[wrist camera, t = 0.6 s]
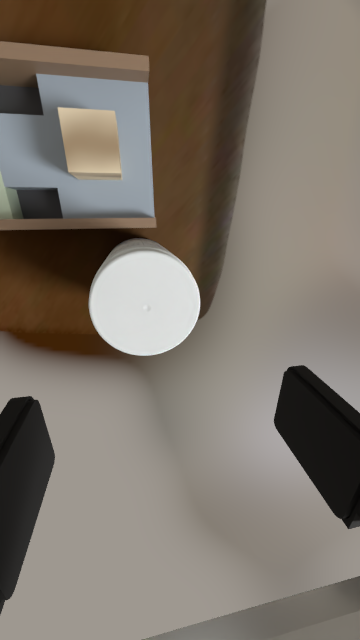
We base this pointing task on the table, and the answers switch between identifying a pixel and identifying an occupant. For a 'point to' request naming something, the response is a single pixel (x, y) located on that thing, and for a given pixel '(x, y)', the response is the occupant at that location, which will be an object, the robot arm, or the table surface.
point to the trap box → (47, 142)
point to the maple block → (91, 143)
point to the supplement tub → (143, 298)
